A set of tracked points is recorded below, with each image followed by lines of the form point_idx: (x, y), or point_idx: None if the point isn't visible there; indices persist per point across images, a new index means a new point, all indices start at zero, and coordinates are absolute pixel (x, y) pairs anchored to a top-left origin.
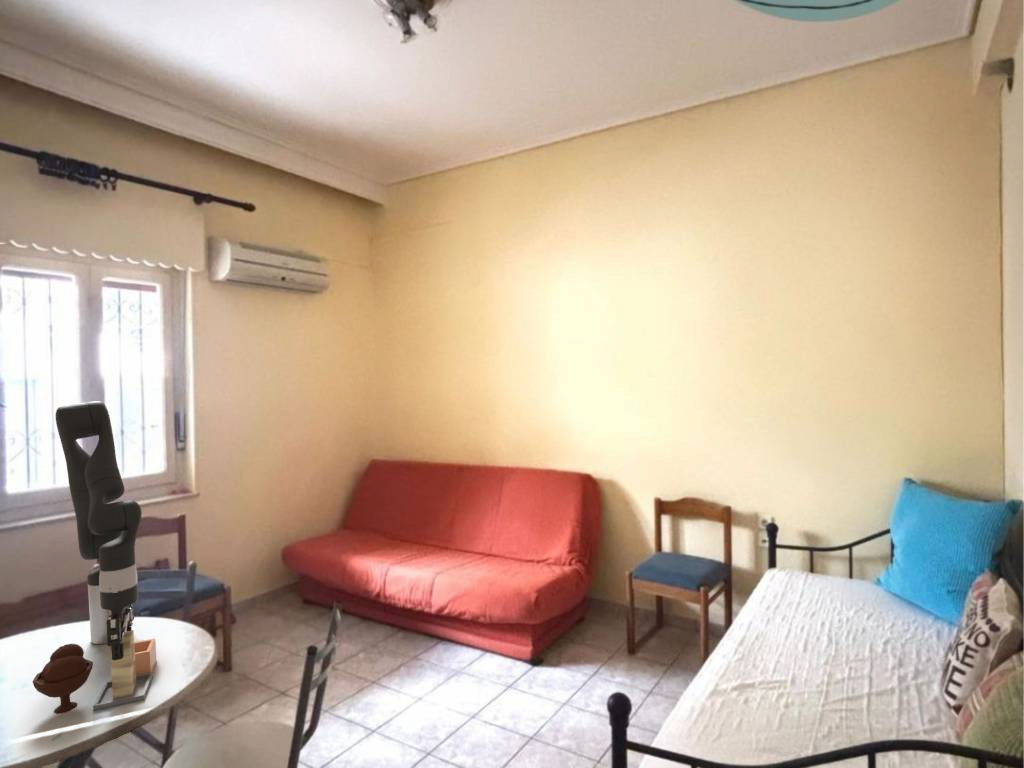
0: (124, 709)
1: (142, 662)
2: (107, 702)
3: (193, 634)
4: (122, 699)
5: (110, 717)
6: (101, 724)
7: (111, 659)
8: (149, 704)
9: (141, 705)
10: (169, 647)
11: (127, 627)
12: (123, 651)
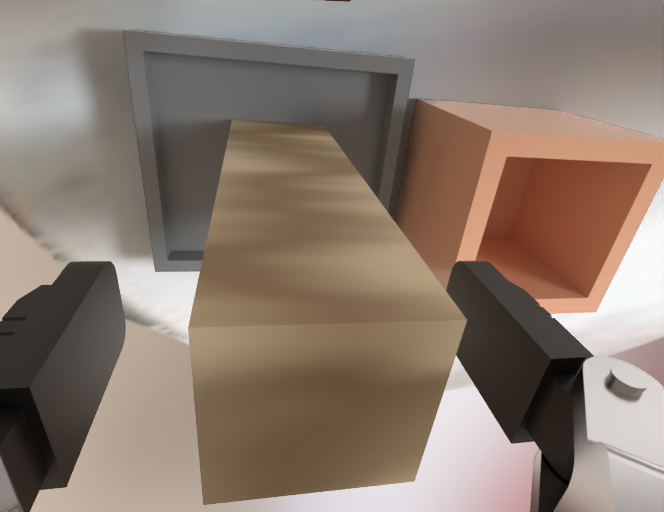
0: (137, 178)
1: (426, 252)
2: (140, 111)
3: (657, 324)
4: (145, 184)
5: (75, 126)
6: (9, 92)
7: (217, 205)
8: (145, 271)
9: (149, 242)
10: (622, 264)
11: (534, 425)
12: (102, 381)
